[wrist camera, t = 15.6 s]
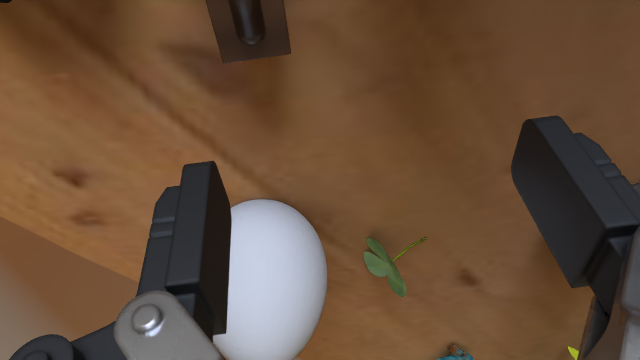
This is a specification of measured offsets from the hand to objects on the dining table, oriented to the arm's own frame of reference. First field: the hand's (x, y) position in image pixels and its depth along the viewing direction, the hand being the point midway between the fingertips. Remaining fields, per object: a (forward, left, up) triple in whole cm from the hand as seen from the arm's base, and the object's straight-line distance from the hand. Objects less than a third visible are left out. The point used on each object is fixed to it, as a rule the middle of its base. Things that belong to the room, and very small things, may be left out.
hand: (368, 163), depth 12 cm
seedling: (+34, +12, -22) cm, 42 cm away
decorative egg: (+29, -3, -22) cm, 36 cm away
